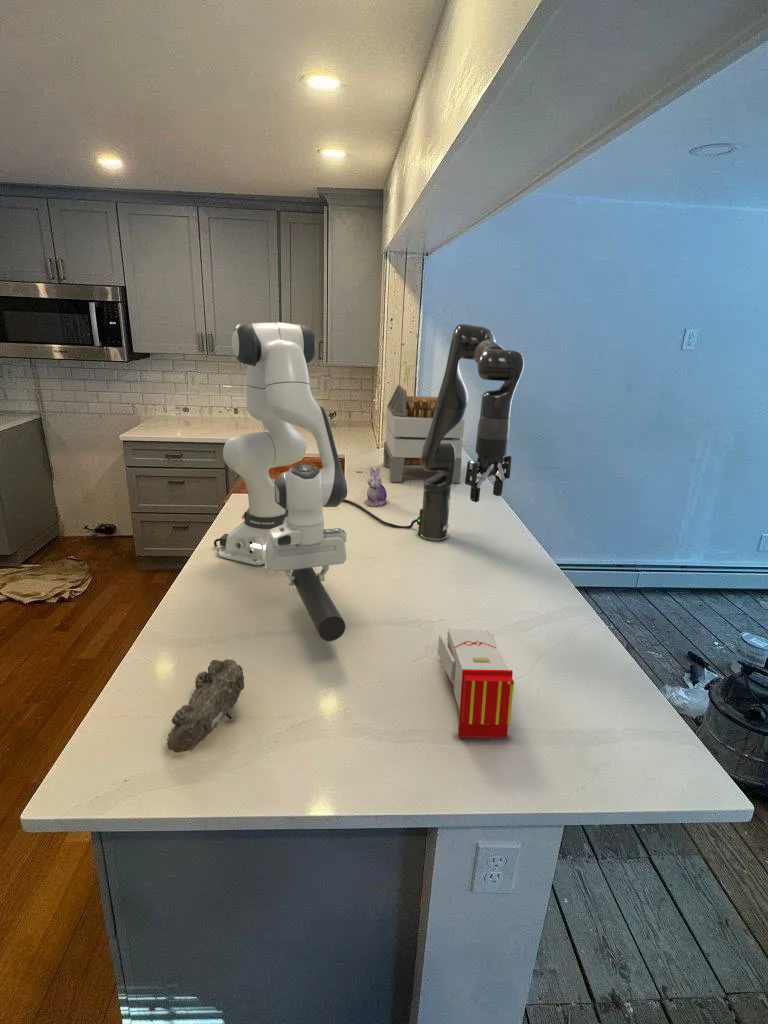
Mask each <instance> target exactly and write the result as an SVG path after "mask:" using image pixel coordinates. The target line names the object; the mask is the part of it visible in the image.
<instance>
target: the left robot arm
mask: <svg viewBox="0 0 768 1024" xmlns="http://www.w3.org/2000/svg"><path fill="white" fill-rule="evenodd" d="M231 348H232V352H233V354H234V357H235V359H236V360H237V361H238V362H239V363H241V364H244V365H247V369H246V410H247V412H248V414H249V415H250V417H252V418H254V419H255V420H256V421H259V422H260V423H261V422H262V425H263V431H257V432H249V433H242V434H239V435H235V436H233V437H230V438H228V439H227V440H226V442H225V443H224V445H223V449H222V457H223V460H224V463H225V465H226V466H227V467H228V468H229V469H230V470H231V471H233V472H235V473H236V474H237V475H238V476H239V477H241V479H242V481H243V482H244V484H245V487H246V490H247V498H248V508H247V510H246V511H245V512H243V514H242V515H241V520H243V519H244V520H243V522H241V523H240V524H238V525H237V526H236V527H234V528H233V529H232V530H231V531H229V533H224V534H223V535H221V537H219V538H216V539H214V541H213V546H214V548H217V547H218V543H217V542H219V546H220V548H219V550H218V557H220V558H224V559H227V560H232V561H235V562H236V561H237V562H240V563H245V564H249V565H252V566H263V565H264V568H265V569H266V571H267V572H269V573H279V572H283V573H284V575H285V576H286V577H287V582H288V585H289V586H290V587H291V586H295V578H294V576H291V575H290V574H292V571H293V570H296V569H304V568H319V567H320V568H321V567H322V568H321V570H320V572H316V575H317V576H318V578H319V580H320V581H321V582H325V581H326V580H325V576H326V575H327V573H328V571H329V569H330V566H334V565H335V566H336V565H343V564H345V562H346V560H347V550H346V544H345V543H346V542H347V532H346V531H345V530H344V529H341V528H340V527H336V528H325V518H324V515H323V508H337V507H338V506H340V504H342V503H343V502H344V501H343V500H344V499H346V498H347V496H348V484H347V480H346V476H345V474H344V471H343V469H342V466H341V462H340V459H339V455H338V450H337V446H336V443H335V438H334V435H333V432H332V427H331V424H330V420H329V417H328V414H327V412H326V410H325V408H324V407H323V406H321V405H320V404H318V403H317V401H316V400H315V398H314V397H313V394H312V390H311V382H310V375H309V370H308V364H310V363H311V362H312V361H313V360H314V359H315V356H316V354H317V353H316V352H317V339H316V333H315V332H314V330H313V329H312V328H311V326H308V325H305V324H300V323H298V324H294V323H288V322H282V321H281V322H278V321H273V322H253V323H252V322H248V321H247V322H242V323H238V324H237V325H236V327H235V328H234V329H233V333H232V336H231ZM293 426H296V427H299V428H301V429H304V430H306V431H307V432H309V433H310V434H311V435H312V436H313V437H314V439H315V443H316V446H317V450H318V454H319V458H320V463H321V465H322V468H320V469H319V468H318V467H317V466H316V465H313V464H309V463H298V462H300V461H302V460H304V457H305V456H306V453H307V443H306V440H305V438H304V436H303V435H302V433H300V432H299V431H298V430H297V429H296V428H295V427H293ZM296 463H298V464H296ZM293 464H295V465H293ZM291 465H293V466H291ZM286 466H291V467H290V468H289V469H288V470H287V471H283V472H281V473H279V474H278V476H277V477H276V478H272V477H270V472H269V471H270V469H275V468H281V467H286ZM287 510H288V511H289V514H288V518H287Z"/></svg>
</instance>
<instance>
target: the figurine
mask: <svg viewBox="0 0 768 1024" xmlns="http://www.w3.org/2000/svg"><path fill="white" fill-rule="evenodd" d="M381 469H382V468H381V466H378V467H377V468H376V469H375V470H374V468H373V467H372V466H370V467H369V477H368V479H367V484H368V488H367V491H366V497H367V498H366V504H367V506H370V507H377V506H383V505H385V504H386V502H387V496H388V494H387V493H388V492H387V490H386V488H385V486H384V485H383V484H382V478H381V475H380V474H381Z"/></svg>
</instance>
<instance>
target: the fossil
mask: <svg viewBox="0 0 768 1024" xmlns="http://www.w3.org/2000/svg"><path fill="white" fill-rule="evenodd" d="M243 670H244V669H243V667H242V665H240V664H237V662H236V661H235V660H234V659H232V658H231V659H227V658H226V659H224V660H223V661H222V660H217V659H212V660H211V661H210V663H209V665H208V666H207V671H201V672H199V673H198V674H197V675H196V676H195V680H194V684H195V685H194V687H195V689H194V690H193V693H192V694H191V697H190V698H189V700H188V704H184V705H182V706H181V707H180V709H177V710H176V711H175V713H174V715H173V716H172V718H171V723H172V724H173V727H172V730H171V731H170V732H168V734H167V738H166V741H167V742H166V745H167V749H168V750H169V751H173V752H174V753H176V754H178V753H182V752H188V751H189V752H192V751H193V750H195V748H196V747H197V746H199V744H200V743H201V742H203V741H204V740H205V739H206V738H207V737H208V736H209V735H210V734H211V733H212V732H214V730H215V729H217V727H218V726H219V724H220V722H221V721H222V720H223V719H224V718H225V716H226V717H227V719H229V720H233V717H232V715H230V714H229V710H230V709H231V708H234V706H235V704H236V703H237V702H238V699H239V697H240V695H241V693H242V691H243V690H245V689H244V688H245V675H244V671H243Z"/></svg>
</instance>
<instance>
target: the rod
mask: <svg viewBox="0 0 768 1024" xmlns="http://www.w3.org/2000/svg"><path fill="white" fill-rule="evenodd" d="M290 576H294V578H295V585H294V587H295V589H296V591H297V593H298V596H299V598H300V600H301V602H302V603H303V605H304V608H305V610H306V612H307V614H308V615H309V618H310V620H311V621H312V624H313V626H314V628H315V630H316V633H317V634H318V636H319V638H320V639H322V640H323V641H325V642H334V641H337V640H338V639H340V638H341V637H342V636H343V635H344V633H345V632H346V628H347V627H346V626H347V625H346V622H345V620H344V617H342V614H341V613H340V611H339V610H338V608H337V606H336V604H335V603H334V602H333V599H332V598H331V596H330V594H329V593H328V591H327V589H326V588H325V586H324V585H323V583H322V581H320V580H319V578H318V576H317V572H316V571H315V569H314V567H312V568H304V569H296V570H291V575H290Z"/></svg>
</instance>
